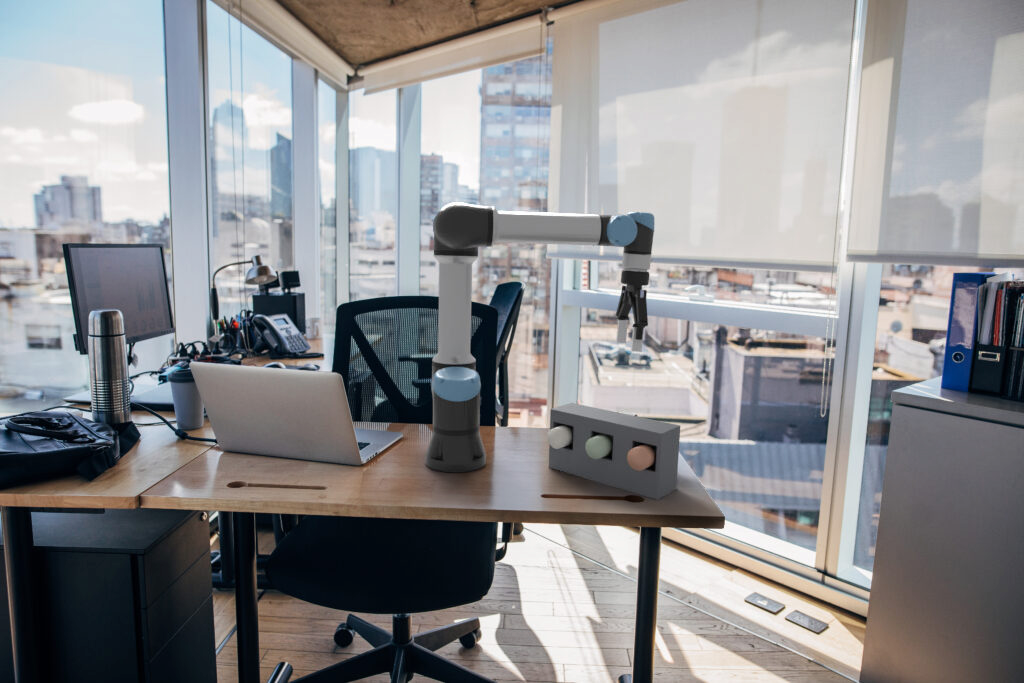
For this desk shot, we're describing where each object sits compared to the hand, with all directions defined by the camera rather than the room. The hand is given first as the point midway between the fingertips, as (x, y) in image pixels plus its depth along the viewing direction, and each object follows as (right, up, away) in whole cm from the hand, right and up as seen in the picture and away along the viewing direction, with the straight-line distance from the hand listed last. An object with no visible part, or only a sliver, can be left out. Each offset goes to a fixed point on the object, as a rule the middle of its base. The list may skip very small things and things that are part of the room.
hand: (628, 346), depth 181 cm
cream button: (-21, -24, -23) cm, 39 cm away
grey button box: (-9, -31, -25) cm, 41 cm away
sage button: (-12, -25, -30) cm, 41 cm away
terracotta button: (-4, -27, -37) cm, 45 cm away
